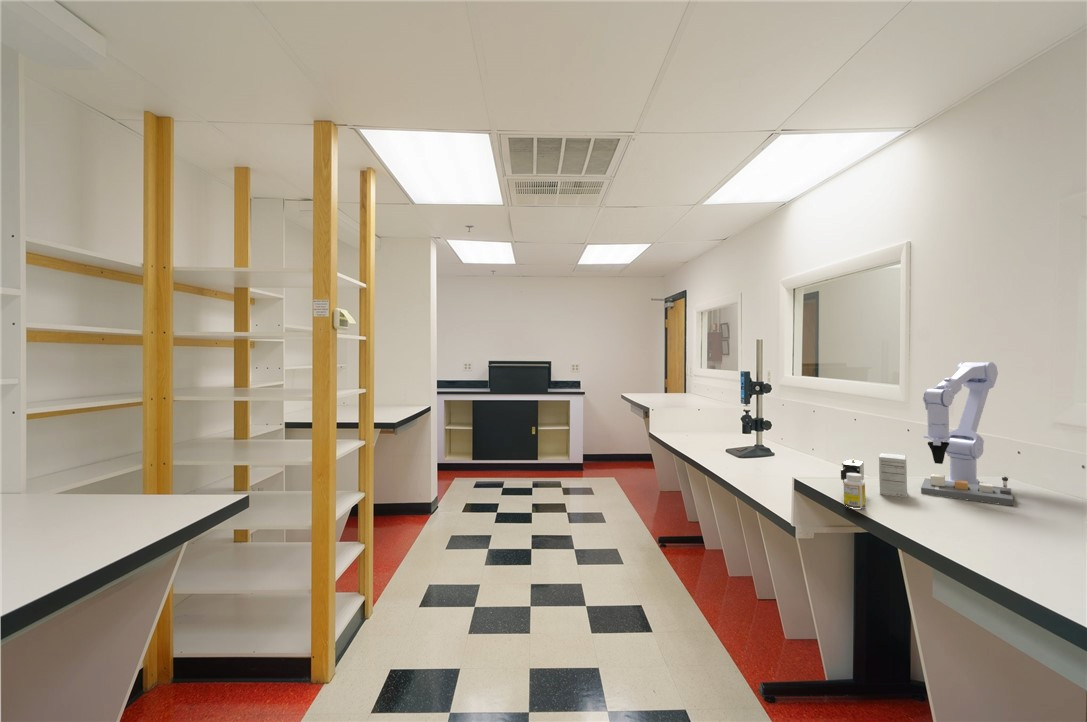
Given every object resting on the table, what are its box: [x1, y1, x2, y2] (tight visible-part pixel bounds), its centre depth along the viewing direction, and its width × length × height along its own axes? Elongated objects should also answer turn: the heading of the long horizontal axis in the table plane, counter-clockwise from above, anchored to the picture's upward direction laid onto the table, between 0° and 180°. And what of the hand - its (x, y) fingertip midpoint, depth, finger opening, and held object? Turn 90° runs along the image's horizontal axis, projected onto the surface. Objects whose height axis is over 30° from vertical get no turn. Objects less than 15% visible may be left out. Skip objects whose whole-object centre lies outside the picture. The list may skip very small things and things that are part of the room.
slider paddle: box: [929, 473, 946, 486], centre depth 164 cm, size 3×4×3 cm
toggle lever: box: [1001, 476, 1009, 488], centre depth 155 cm, size 2×2×3 cm
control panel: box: [920, 478, 1014, 506], centre depth 161 cm, size 15×22×3 cm
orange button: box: [955, 480, 968, 490], centre depth 161 cm, size 3×3×2 cm
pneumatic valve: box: [840, 458, 865, 484], centre depth 163 cm, size 6×12×12 cm, turn 140°
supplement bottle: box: [843, 473, 866, 508], centre depth 150 cm, size 6×6×10 cm
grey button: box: [978, 482, 994, 493], centre depth 157 cm, size 3×3×2 cm
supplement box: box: [878, 452, 908, 498], centre depth 163 cm, size 7×7×13 cm
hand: (938, 463), depth 169 cm, fingers closed
